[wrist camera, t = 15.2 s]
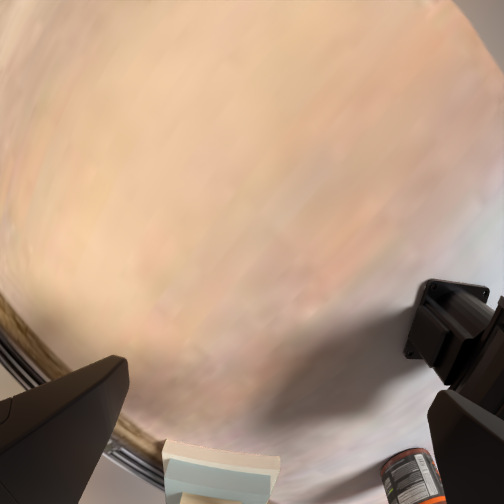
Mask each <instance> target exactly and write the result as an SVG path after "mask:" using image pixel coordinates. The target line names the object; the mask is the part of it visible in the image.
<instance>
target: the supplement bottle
mask: <svg viewBox="0 0 504 504" xmlns="http://www.w3.org/2000/svg"><path fill="white" fill-rule="evenodd" d="M381 477H382V481H383V485H384V488H385V492H386V496H387V499H388V502H389V504H446V499H445V495H444V491H443V487H442V483H441V479H440V475H439V473H438V470H437V468H436V466H435V464H434V461H433V459H432V457H431V455H430V453H429V452H428V451H427V450H426V449H423V448H416V449H411V450H407V451H404V452H402V453H400V454H398V455H396V456H395V457H393V458H391V459H390V460H389V461H388V462H387V463H386V464H385V465H384V467H383V468H382V471H381Z"/></svg>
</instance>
